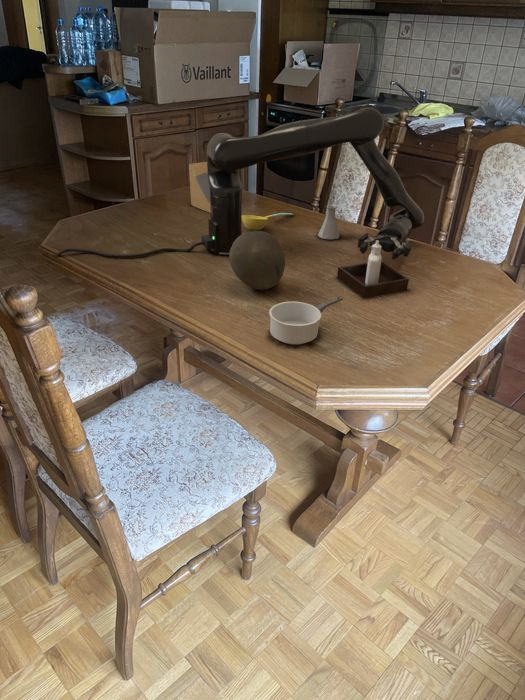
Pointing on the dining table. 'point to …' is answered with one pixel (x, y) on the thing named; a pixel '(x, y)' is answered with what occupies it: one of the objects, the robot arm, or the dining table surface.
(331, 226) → the flask
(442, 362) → the dining table surface
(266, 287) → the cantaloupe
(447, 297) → the dining table surface
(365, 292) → the tray
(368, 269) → the eye dropper bottle
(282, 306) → the saucepan
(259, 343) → the dining table surface
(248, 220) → the ladle
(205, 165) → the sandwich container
